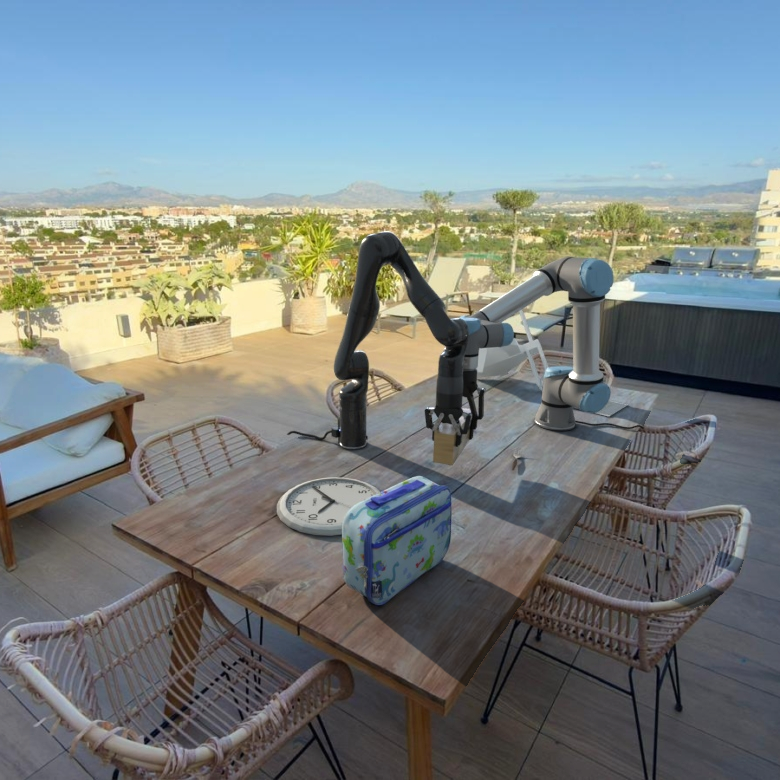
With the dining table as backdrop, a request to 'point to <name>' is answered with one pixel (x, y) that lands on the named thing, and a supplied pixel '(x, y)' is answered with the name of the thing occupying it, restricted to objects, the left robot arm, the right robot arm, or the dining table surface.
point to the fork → (516, 457)
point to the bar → (449, 442)
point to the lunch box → (395, 537)
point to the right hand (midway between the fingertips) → (461, 436)
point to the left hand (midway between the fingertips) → (446, 443)
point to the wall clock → (322, 504)
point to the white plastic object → (510, 357)
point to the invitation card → (611, 408)
